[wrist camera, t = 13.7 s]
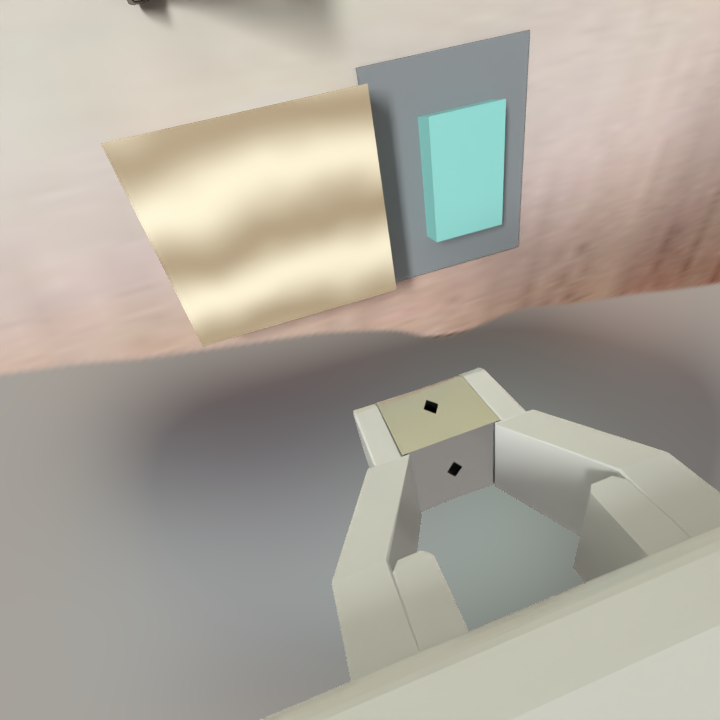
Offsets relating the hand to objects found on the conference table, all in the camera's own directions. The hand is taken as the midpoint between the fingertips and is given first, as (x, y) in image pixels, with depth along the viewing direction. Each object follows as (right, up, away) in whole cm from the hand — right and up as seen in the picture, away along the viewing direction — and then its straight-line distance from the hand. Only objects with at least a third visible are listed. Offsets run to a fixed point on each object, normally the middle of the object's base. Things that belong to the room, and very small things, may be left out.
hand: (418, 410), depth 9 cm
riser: (-8, +12, +21) cm, 26 cm away
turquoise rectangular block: (+7, +15, +21) cm, 27 cm away
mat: (+6, +17, +23) cm, 29 cm away
